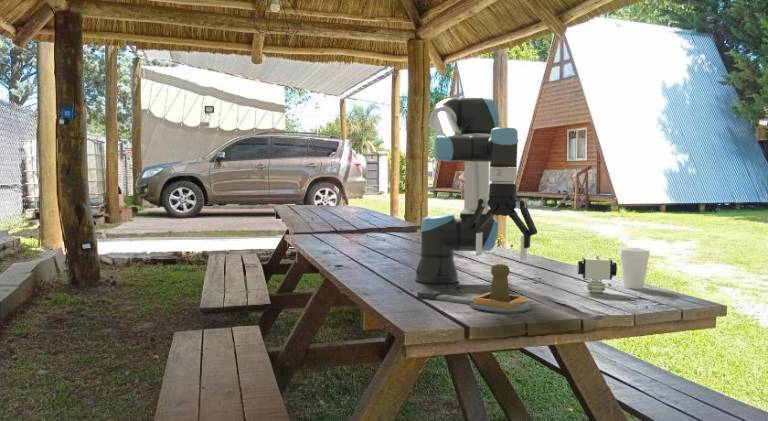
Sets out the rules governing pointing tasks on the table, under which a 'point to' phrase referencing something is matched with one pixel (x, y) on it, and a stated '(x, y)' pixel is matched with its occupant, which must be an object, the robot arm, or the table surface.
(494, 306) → the round pan with handle
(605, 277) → the pneumatic valve
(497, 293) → the cork
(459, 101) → the robot arm
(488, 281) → the table surface
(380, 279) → the table surface
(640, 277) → the foam cup
